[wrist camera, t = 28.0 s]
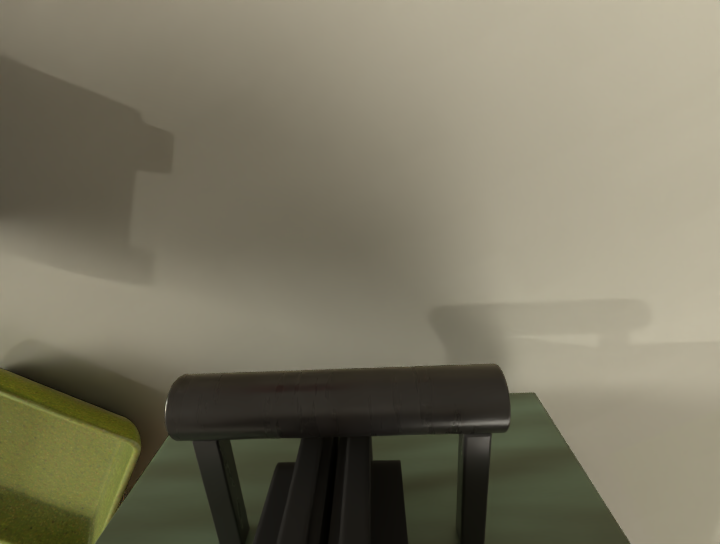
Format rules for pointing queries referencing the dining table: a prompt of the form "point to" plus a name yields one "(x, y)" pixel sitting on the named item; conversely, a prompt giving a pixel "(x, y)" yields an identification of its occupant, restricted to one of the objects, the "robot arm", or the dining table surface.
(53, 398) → the green square tray
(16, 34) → the dining table surface
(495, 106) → the dining table surface
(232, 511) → the drawer
